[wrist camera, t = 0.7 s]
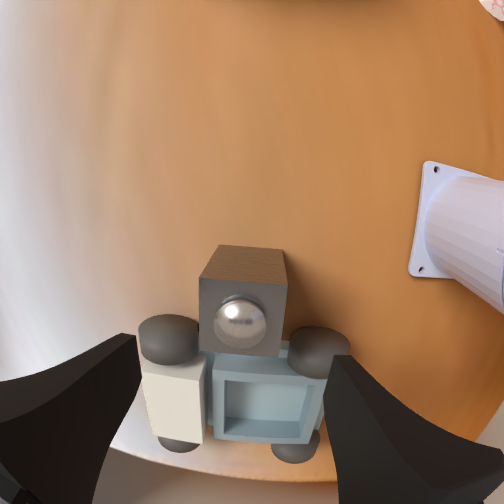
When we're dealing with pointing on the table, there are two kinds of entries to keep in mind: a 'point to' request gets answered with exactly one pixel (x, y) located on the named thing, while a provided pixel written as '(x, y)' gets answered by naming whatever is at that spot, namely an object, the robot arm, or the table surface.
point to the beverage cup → (494, 8)
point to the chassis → (236, 388)
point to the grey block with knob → (243, 301)
